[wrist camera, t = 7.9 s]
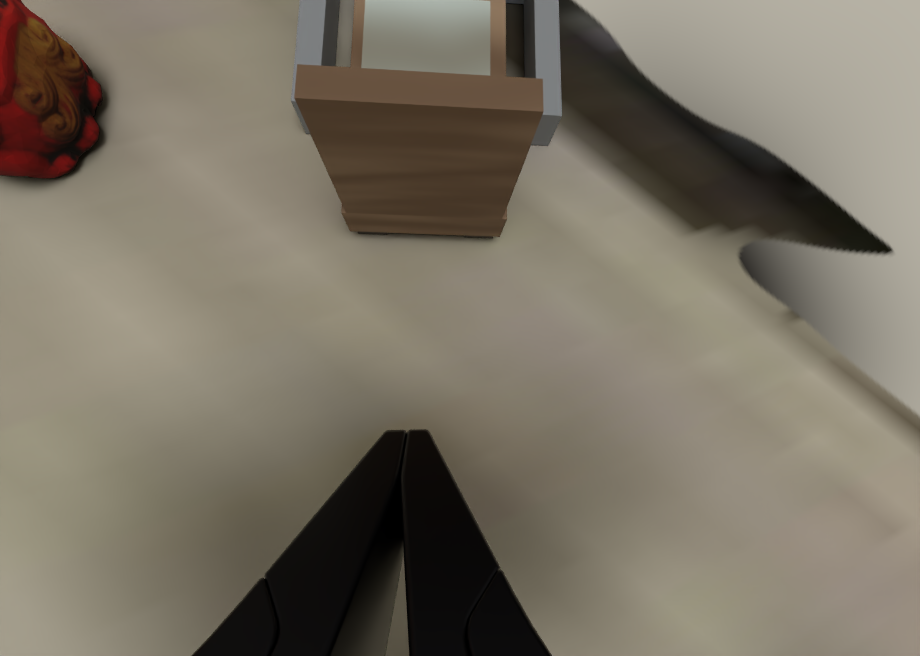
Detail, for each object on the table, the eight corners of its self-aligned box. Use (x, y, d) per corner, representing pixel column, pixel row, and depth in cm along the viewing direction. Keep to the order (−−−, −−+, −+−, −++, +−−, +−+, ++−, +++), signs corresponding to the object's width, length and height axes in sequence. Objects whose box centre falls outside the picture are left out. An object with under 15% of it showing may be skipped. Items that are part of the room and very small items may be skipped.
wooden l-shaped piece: (496, 244, 22) (550, 111, 12) (353, 239, 21) (286, 97, 11) (496, 2, 24) (541, -277, 14) (367, -7, 24) (322, -301, 14)
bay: (548, 145, 23) (561, 115, 20) (306, 133, 22) (291, 101, 20) (544, -18, 24) (556, -63, 22) (319, -34, 24) (307, -83, 21)
